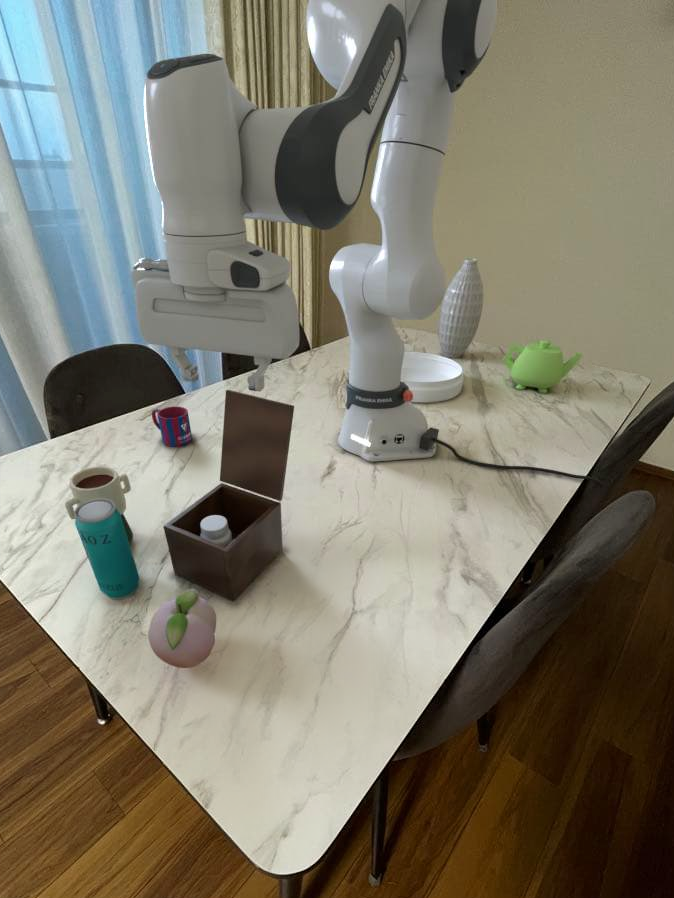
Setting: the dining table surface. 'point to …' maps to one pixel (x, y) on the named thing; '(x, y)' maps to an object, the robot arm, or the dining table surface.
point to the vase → (461, 310)
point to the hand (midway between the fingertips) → (223, 385)
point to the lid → (255, 443)
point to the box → (241, 559)
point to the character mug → (100, 490)
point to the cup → (173, 425)
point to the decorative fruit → (183, 630)
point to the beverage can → (107, 547)
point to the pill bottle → (216, 530)
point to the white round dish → (431, 377)
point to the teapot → (538, 365)
